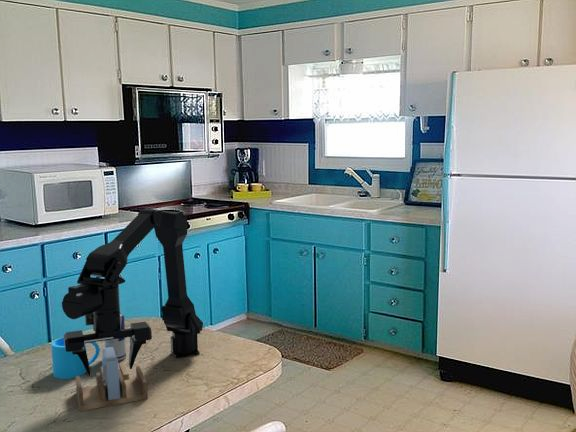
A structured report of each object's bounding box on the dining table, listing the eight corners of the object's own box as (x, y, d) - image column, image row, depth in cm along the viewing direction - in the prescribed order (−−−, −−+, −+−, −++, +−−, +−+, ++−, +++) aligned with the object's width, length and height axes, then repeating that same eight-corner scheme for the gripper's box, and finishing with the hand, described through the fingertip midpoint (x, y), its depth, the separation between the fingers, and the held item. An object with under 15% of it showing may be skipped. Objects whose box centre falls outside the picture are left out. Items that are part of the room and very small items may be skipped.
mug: (60, 381, 145) (58, 349, 144) (48, 371, 151) (46, 341, 150) (107, 368, 153) (105, 337, 152) (93, 359, 159) (91, 330, 158)
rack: (140, 381, 145) (139, 365, 144) (147, 398, 136) (147, 381, 135) (76, 392, 139) (75, 376, 138) (79, 411, 130) (78, 393, 129)
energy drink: (130, 355, 161) (128, 313, 159) (118, 362, 156) (116, 319, 154) (113, 353, 163) (111, 311, 161) (101, 360, 158) (99, 317, 156)
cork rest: (124, 369, 152) (123, 362, 152) (129, 381, 145) (128, 374, 144) (101, 373, 150) (100, 366, 149) (104, 386, 142) (104, 378, 142)
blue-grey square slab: (114, 382, 142) (112, 346, 140) (120, 398, 134) (117, 360, 132) (103, 384, 141) (101, 348, 139) (108, 400, 133) (106, 361, 131)
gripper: (142, 292, 145) (145, 353, 147) (60, 301, 138) (64, 365, 140) (150, 304, 135) (153, 369, 137) (63, 315, 128) (67, 384, 130)
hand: (110, 371), depth 136 cm, fingers open, 9 cm apart
